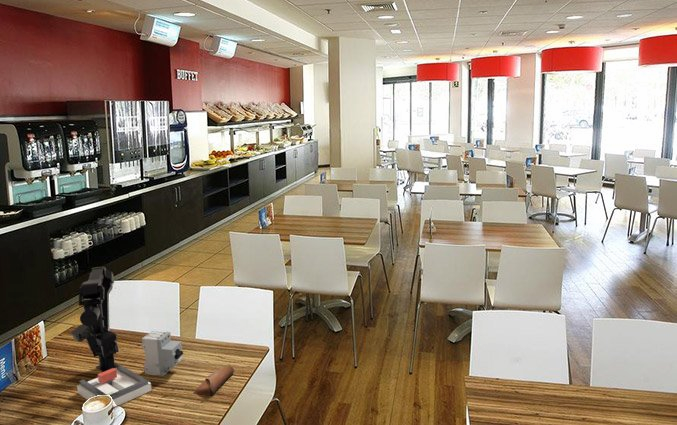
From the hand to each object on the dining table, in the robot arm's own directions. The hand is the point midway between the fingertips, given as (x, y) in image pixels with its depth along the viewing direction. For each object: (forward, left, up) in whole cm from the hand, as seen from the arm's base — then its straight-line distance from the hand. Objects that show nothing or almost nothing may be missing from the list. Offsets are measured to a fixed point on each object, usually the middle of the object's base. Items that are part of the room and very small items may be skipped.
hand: (99, 354), depth 206 cm
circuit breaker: (+11, +21, -12) cm, 26 cm away
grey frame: (+10, 0, -9) cm, 13 cm away
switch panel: (+10, 0, -12) cm, 16 cm away
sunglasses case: (+34, +26, -13) cm, 45 cm away
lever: (+6, 0, -11) cm, 12 cm away
